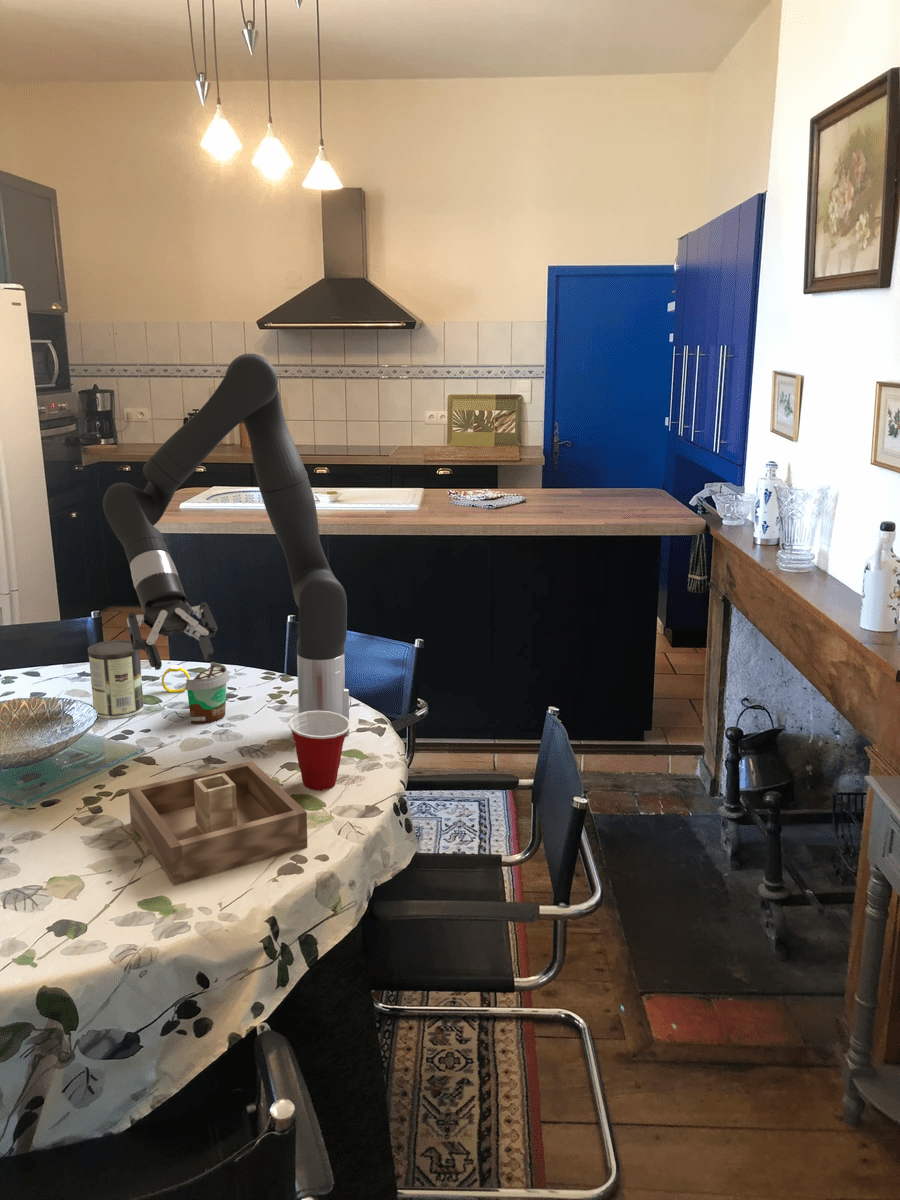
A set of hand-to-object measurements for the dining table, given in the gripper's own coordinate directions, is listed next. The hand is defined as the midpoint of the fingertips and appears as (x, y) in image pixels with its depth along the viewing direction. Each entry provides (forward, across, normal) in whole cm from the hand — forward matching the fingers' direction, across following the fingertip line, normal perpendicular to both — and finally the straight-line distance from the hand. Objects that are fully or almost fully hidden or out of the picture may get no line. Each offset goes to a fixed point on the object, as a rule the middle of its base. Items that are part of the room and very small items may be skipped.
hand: (184, 663), depth 160 cm
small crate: (+28, -2, +4) cm, 28 cm away
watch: (-19, +14, +52) cm, 57 cm away
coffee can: (-15, 0, +49) cm, 51 cm away
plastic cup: (+23, +20, +11) cm, 33 cm away
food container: (-5, +16, +39) cm, 42 cm away
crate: (+28, -2, +5) cm, 29 cm away
